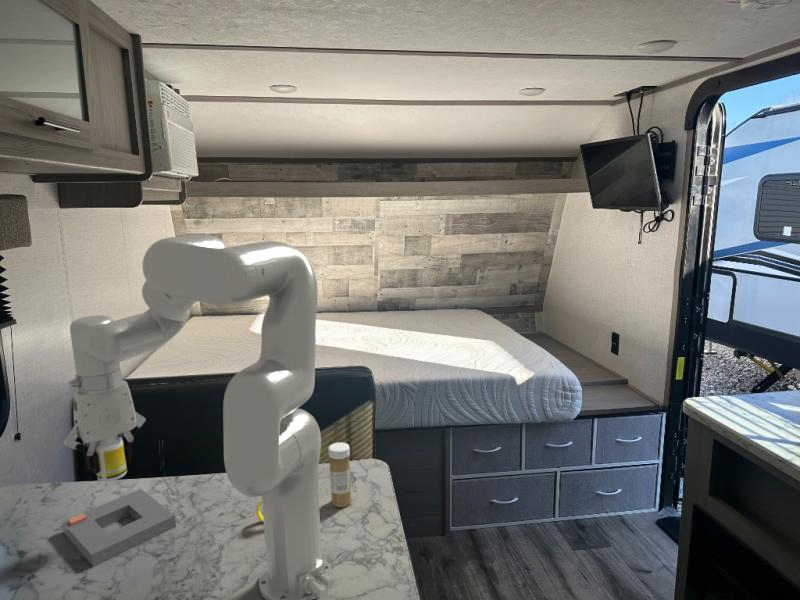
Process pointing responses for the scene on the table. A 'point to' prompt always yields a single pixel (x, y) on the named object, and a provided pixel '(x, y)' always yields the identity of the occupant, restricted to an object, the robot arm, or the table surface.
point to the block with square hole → (107, 545)
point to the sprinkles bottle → (340, 474)
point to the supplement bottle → (111, 459)
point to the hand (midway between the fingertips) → (111, 464)
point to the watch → (259, 511)
